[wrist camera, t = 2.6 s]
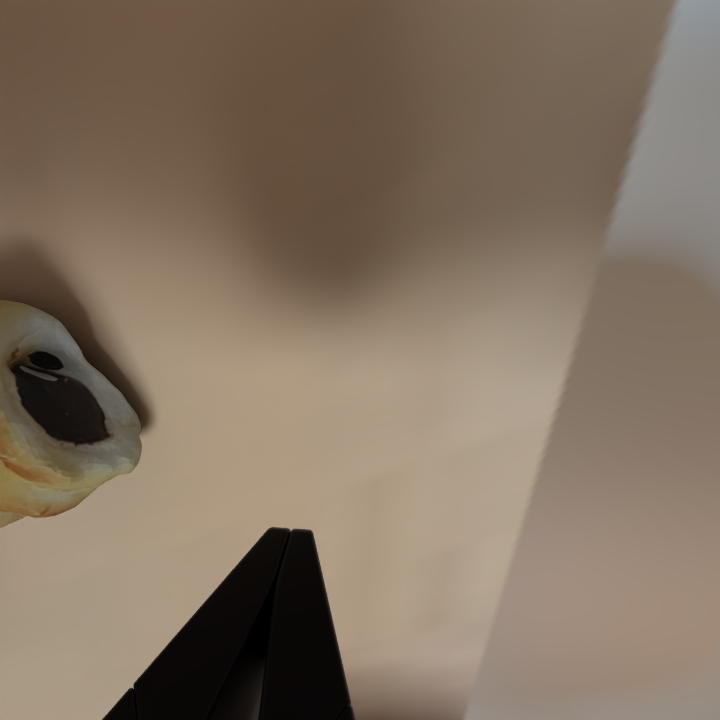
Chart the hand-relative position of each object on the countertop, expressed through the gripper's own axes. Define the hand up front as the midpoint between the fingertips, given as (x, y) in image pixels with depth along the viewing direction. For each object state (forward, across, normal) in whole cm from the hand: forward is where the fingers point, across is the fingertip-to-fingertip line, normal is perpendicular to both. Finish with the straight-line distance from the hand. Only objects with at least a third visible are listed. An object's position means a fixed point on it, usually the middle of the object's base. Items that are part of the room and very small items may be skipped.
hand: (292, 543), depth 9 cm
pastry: (+7, +13, 0) cm, 15 cm away
